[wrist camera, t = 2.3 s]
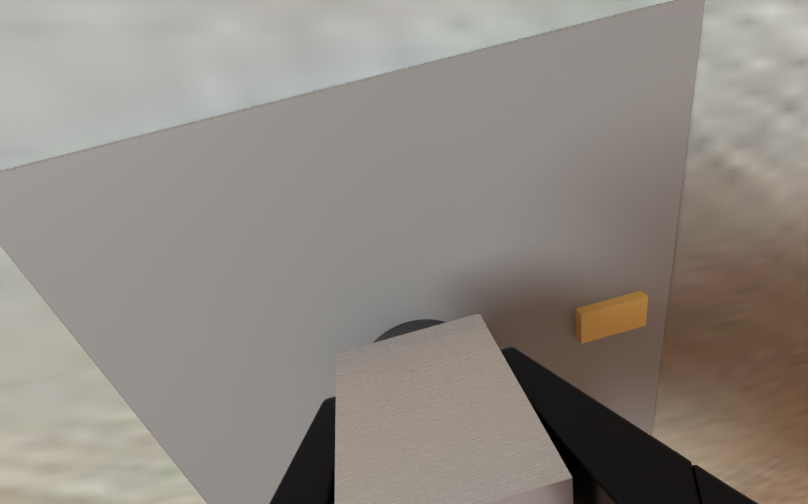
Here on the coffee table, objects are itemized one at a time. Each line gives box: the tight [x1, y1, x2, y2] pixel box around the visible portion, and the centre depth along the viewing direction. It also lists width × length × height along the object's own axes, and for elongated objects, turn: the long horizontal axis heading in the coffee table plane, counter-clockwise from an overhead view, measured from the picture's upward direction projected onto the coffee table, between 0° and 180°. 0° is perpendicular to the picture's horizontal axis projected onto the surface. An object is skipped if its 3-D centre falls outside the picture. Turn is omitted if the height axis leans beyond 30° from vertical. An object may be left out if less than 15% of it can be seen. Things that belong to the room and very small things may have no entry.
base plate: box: [0, 0, 705, 504], centre depth 15 cm, size 20×20×1 cm
